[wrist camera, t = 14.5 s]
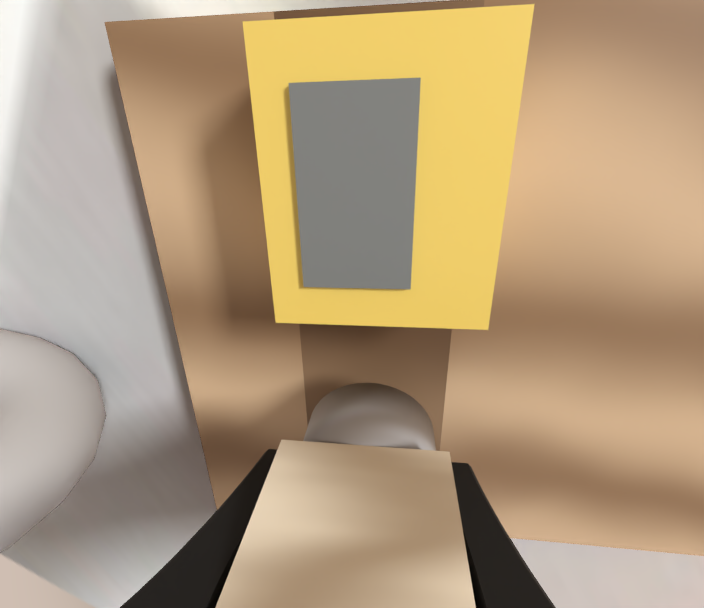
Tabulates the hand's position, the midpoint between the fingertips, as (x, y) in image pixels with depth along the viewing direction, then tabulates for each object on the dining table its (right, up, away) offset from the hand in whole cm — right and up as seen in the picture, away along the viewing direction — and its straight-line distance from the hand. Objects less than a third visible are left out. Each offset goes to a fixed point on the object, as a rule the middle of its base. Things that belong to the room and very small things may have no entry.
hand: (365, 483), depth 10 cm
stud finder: (+1, +8, 0) cm, 8 cm away
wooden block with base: (0, +1, +2) cm, 2 cm away
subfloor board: (+4, +4, +3) cm, 6 cm away
